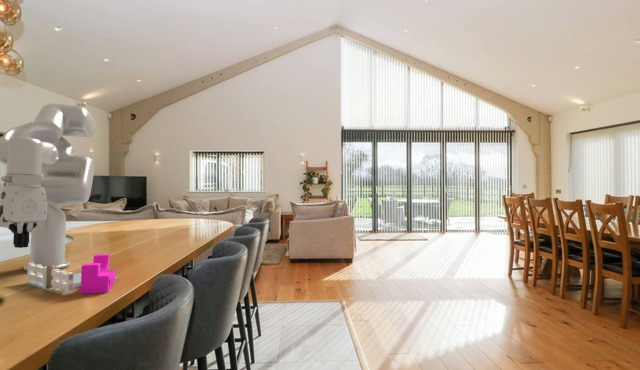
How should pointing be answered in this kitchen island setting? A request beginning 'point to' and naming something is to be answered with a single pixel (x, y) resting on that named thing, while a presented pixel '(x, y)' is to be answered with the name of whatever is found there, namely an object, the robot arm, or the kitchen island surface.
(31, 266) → the swing panel
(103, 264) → the toy block
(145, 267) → the kitchen island surface
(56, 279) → the fixed panel and post
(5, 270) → the kitchen island surface
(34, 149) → the robot arm
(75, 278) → the mat
